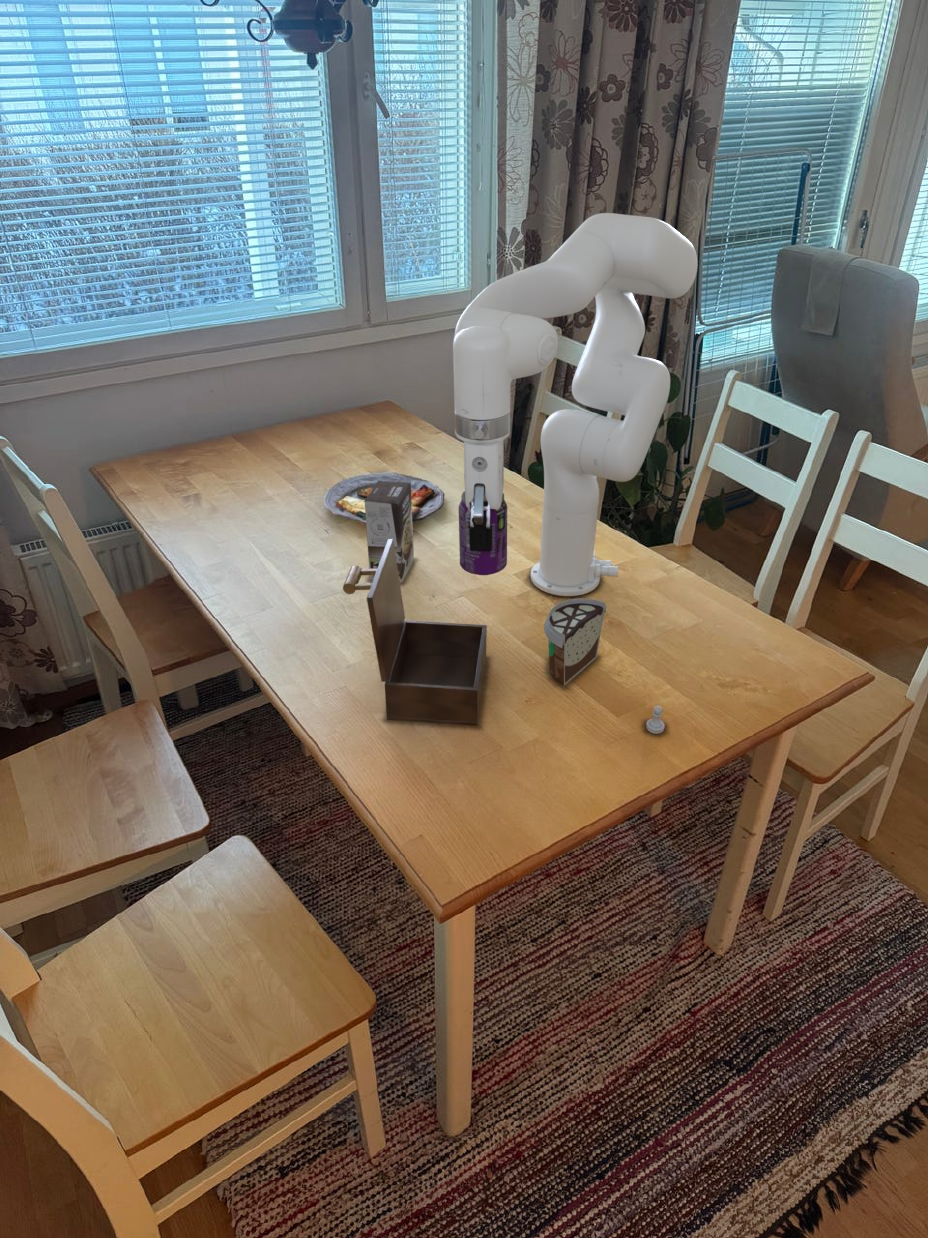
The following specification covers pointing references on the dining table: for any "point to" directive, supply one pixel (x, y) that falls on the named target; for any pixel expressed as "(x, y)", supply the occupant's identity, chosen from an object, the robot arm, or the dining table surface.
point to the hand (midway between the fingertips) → (483, 536)
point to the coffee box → (390, 524)
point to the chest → (437, 673)
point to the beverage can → (498, 555)
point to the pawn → (655, 721)
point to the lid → (382, 605)
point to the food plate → (355, 490)
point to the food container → (573, 636)
